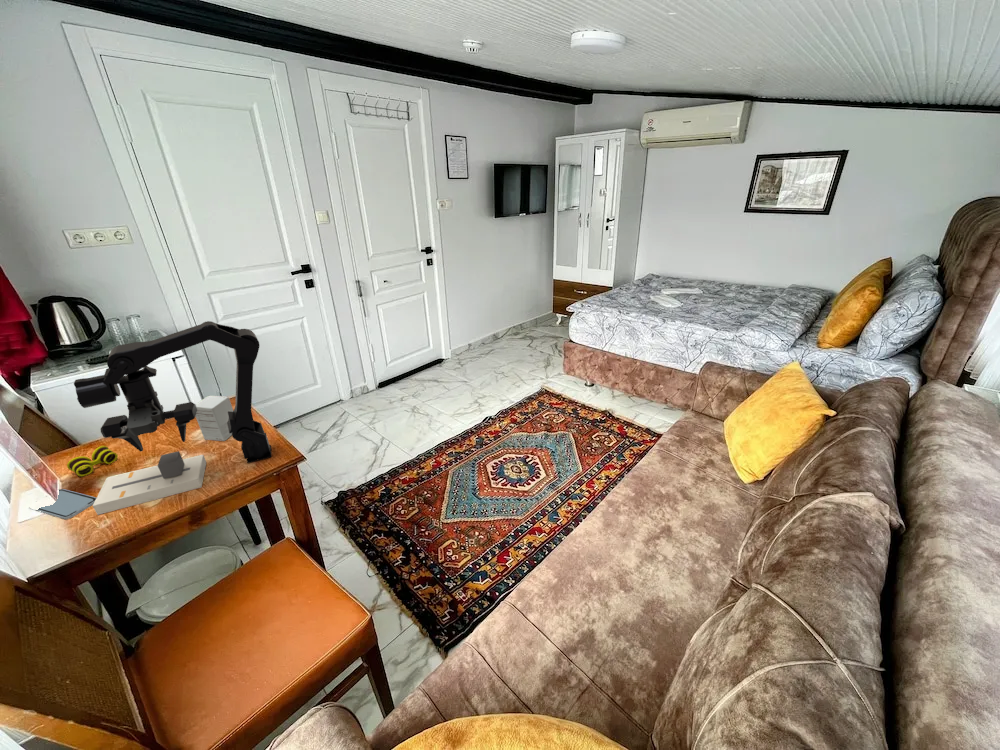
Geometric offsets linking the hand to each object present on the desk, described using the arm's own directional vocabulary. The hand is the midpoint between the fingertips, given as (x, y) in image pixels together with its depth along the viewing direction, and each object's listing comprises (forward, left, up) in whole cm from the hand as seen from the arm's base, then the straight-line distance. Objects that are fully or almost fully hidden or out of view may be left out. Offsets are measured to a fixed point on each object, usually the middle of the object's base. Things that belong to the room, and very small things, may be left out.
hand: (163, 445), depth 109 cm
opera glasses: (+23, -19, -12) cm, 32 cm away
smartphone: (+25, -3, -13) cm, 28 cm away
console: (+5, 0, -12) cm, 13 cm away
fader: (0, 0, -9) cm, 9 cm away
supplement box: (-9, -21, -12) cm, 26 cm away
